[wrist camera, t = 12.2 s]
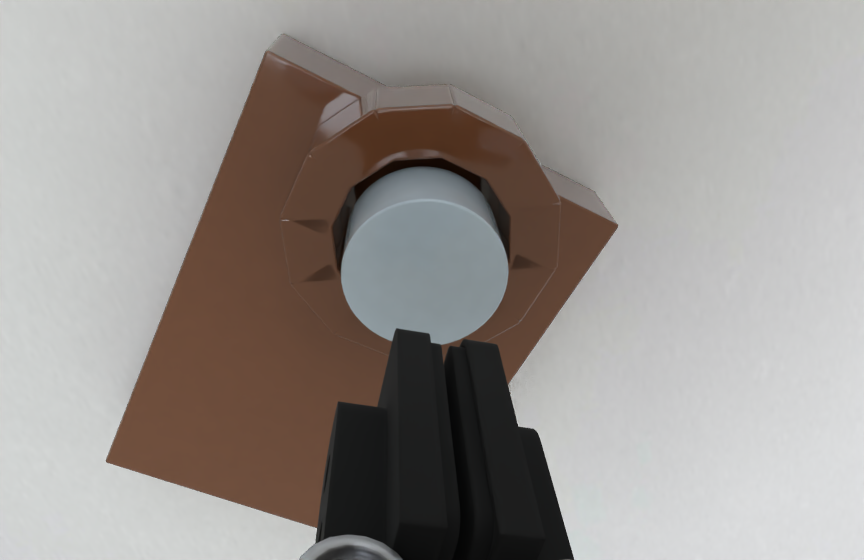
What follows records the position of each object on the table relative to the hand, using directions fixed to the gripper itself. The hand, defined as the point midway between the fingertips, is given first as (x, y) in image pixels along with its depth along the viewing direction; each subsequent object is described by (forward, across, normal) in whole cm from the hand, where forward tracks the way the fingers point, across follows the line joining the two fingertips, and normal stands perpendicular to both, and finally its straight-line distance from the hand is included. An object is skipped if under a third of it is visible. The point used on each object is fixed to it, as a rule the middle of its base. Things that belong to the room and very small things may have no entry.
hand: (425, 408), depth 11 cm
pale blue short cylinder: (+6, 0, 0) cm, 6 cm away
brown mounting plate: (+10, +1, +4) cm, 11 cm away
